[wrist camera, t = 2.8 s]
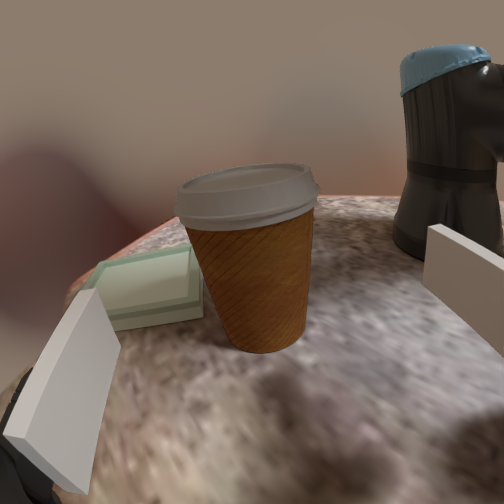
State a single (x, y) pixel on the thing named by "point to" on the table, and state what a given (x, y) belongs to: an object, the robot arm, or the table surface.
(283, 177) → the disposable coffee cup
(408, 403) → the table surface
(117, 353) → the robot arm
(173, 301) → the coaster plate
